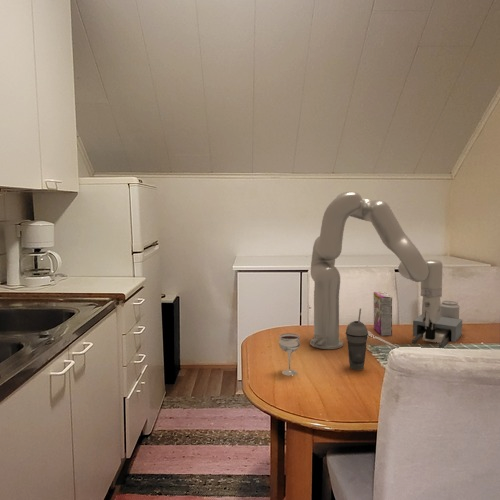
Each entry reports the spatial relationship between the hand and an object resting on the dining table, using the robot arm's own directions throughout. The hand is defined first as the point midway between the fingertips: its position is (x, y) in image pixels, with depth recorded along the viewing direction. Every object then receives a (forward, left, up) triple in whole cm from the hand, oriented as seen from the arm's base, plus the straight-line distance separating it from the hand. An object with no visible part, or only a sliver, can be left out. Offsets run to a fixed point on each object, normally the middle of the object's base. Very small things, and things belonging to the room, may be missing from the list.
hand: (430, 338), depth 162 cm
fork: (-8, +16, -2) cm, 18 cm away
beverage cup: (-40, +13, -2) cm, 43 cm away
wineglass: (-56, +29, -2) cm, 63 cm away
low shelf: (+7, 0, -2) cm, 7 cm away
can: (+24, -2, -2) cm, 24 cm away
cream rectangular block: (+7, -1, -2) cm, 7 cm away
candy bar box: (+4, +20, -2) cm, 20 cm away
